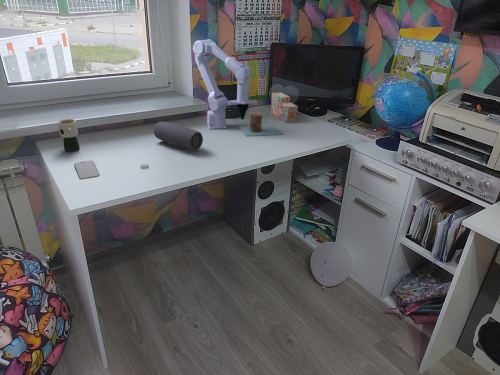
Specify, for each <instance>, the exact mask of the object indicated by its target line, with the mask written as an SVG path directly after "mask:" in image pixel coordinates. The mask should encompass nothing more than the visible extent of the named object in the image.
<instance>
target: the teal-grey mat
mask: <svg viewBox="0 0 500 375" xmlns="http://www.w3.org/2000/svg"><path fill="white" fill-rule="evenodd" d="M239 129H240V130H241V131H242V133H243V134H244V136H245V137H259V136H260V137H261V136H262V137H263V136H264V137H265V136H283V135H284V133H283V132H282V131H281V130H280V128H279V127H278V126H277V125H276V124H275V125H262V128H261V132H251V130H250V125H249V126H239Z"/></svg>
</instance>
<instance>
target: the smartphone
mask: <svg viewBox="0 0 500 375" xmlns="http://www.w3.org/2000/svg"><path fill="white" fill-rule="evenodd" d="M73 165H74V168H75V169H74V170H76V173H77V175H78V179H79V180H85V179H86V180H87V179H91V178H97V177H100V175H101V174H100V173H99V170H98V168H97V166H96V164H95V162H94V161H93V160H86V161H79V162H75V163H74V164H73Z"/></svg>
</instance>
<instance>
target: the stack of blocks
mask: <svg viewBox="0 0 500 375" xmlns="http://www.w3.org/2000/svg"><path fill="white" fill-rule="evenodd" d="M291 98H292V97H291V96H289V95H287V94H286V93H283V92H271V101H270V102H271V107H270V114H272V113H273V114H272V115H274V116H275V115H276V116H275V117H277V118H278V117H279V118H278V119H279V120H280V119H281V120H282V121H283V122H285V123H289V122H290V123H296V122H297V117H298V108H299V106H298V105H296V104H294V103H293V102H291ZM290 123H289V124H290Z"/></svg>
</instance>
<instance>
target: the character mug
mask: <svg viewBox="0 0 500 375" xmlns="http://www.w3.org/2000/svg"><path fill="white" fill-rule="evenodd" d="M57 125H58V131H59V132H58V133H59V135H60V137H61V138H63V149H64V151H65V152H74V151H76V150H80V148H81V147H80V144H79V139H78V138H77V136H79V131H78V125H77V121H76V119H73V118H65V119H60V120H58V121H57Z"/></svg>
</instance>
